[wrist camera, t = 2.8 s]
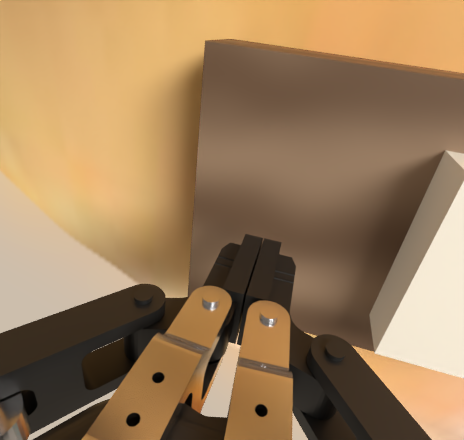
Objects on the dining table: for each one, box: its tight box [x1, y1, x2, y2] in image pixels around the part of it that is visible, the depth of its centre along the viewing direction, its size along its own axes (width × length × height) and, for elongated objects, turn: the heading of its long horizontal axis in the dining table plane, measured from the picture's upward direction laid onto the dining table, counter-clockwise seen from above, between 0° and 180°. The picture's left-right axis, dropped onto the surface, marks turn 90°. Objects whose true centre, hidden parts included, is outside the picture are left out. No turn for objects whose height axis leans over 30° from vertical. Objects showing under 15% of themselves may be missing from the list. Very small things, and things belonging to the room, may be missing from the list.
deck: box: [188, 39, 464, 351], centre depth 17 cm, size 14×20×4 cm
